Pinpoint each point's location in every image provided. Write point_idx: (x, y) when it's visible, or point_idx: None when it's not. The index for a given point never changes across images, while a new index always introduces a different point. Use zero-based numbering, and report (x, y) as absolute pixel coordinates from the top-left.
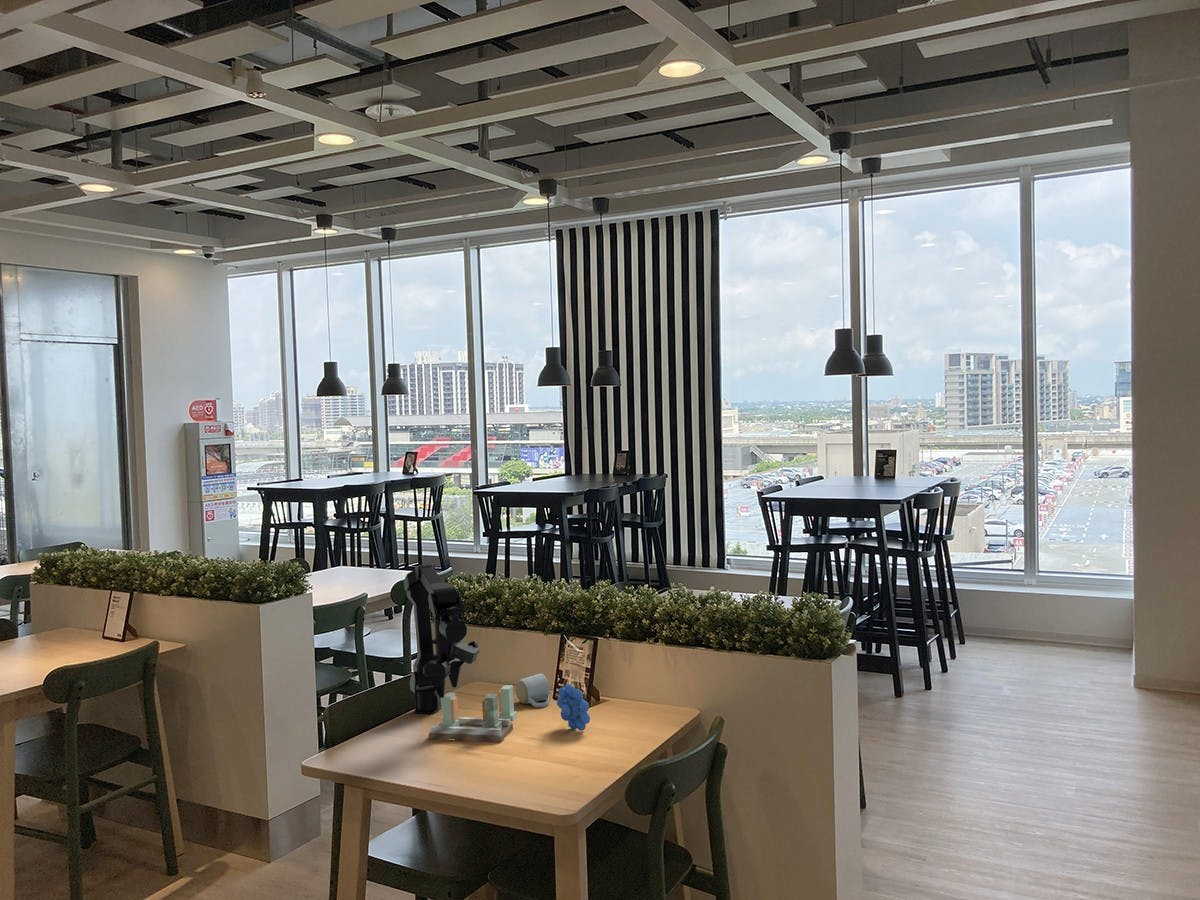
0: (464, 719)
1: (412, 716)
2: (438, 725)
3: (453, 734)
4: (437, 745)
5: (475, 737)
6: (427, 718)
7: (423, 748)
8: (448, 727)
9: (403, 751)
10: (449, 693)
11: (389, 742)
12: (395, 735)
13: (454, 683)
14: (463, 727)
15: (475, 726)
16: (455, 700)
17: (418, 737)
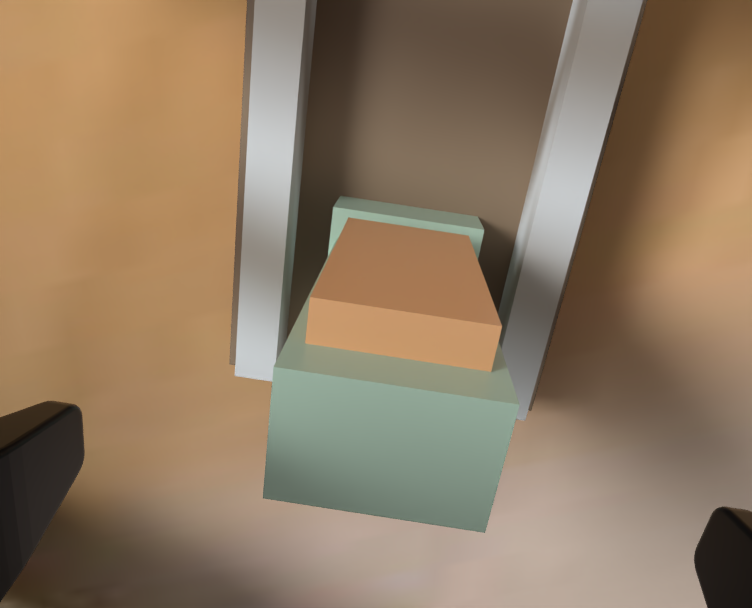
0: (295, 161)
1: (59, 569)
2: None
3: (587, 201)
4: (674, 297)
5: None
6: (81, 480)
7: (719, 384)
8: (552, 268)
9: (748, 495)
10: (319, 450)
11: (549, 599)
12: (420, 592)
13: (33, 480)
14: (578, 109)
15: (370, 22)
16: (421, 301)
17: None
